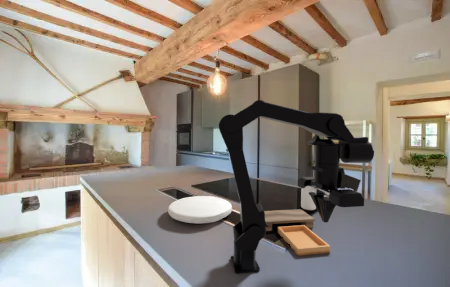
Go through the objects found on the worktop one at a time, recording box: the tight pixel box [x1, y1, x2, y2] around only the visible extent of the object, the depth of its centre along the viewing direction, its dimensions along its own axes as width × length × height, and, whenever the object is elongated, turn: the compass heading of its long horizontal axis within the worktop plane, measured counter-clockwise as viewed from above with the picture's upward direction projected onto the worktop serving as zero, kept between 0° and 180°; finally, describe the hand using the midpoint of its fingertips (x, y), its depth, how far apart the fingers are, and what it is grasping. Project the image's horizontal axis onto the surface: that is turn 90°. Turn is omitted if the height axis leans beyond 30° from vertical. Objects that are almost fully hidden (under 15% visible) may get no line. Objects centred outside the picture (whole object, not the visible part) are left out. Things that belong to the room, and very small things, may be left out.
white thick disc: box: [167, 195, 233, 225], centre depth 88 cm, size 28×6×27 cm
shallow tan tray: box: [277, 224, 331, 257], centre depth 66 cm, size 14×10×2 cm
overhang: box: [264, 208, 316, 232], centre depth 79 cm, size 10×20×3 cm, turn 99°
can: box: [300, 186, 317, 211], centre depth 96 cm, size 6×6×12 cm
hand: (325, 221), depth 54 cm, fingers closed
